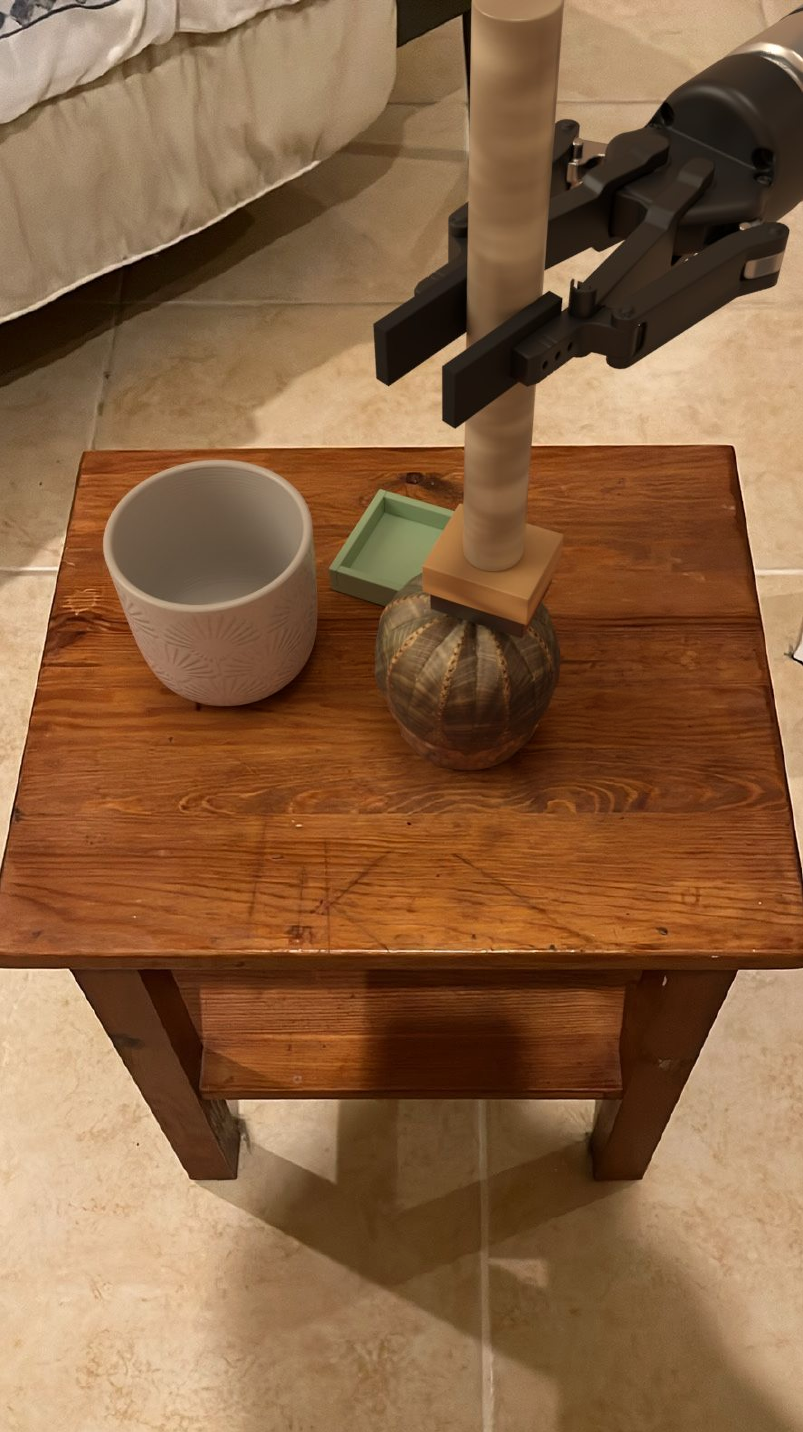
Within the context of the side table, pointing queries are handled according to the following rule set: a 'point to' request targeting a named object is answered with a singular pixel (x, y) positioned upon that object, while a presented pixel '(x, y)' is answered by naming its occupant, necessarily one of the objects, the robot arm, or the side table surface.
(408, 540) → the tray
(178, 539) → the planter
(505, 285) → the paper towel holder
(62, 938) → the side table surface
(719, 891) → the side table surface
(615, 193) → the robot arm
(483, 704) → the brown ribbed round dome
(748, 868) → the side table surface
